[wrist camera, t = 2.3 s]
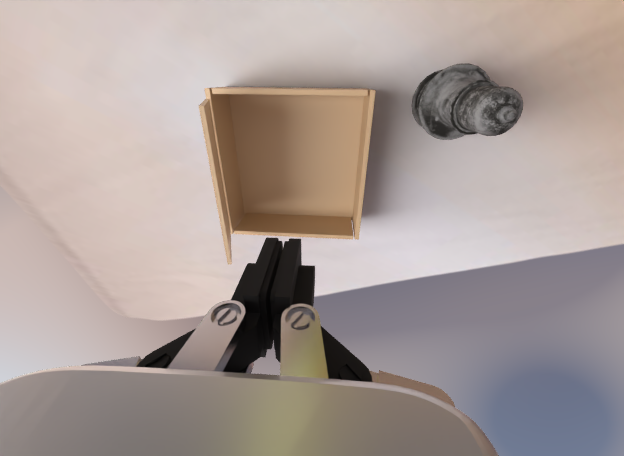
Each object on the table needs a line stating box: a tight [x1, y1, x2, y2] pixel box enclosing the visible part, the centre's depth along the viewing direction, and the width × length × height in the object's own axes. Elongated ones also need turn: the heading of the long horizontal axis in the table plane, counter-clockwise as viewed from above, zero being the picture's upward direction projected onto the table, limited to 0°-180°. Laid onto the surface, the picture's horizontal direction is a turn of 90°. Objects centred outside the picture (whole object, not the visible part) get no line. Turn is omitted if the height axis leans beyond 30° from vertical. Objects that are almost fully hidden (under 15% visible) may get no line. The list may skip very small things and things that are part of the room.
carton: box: [205, 87, 376, 239], centre depth 27 cm, size 14×14×5 cm
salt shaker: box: [412, 64, 523, 140], centre depth 20 cm, size 6×6×12 cm
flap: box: [199, 99, 232, 264], centre depth 22 cm, size 6×12×1 cm
